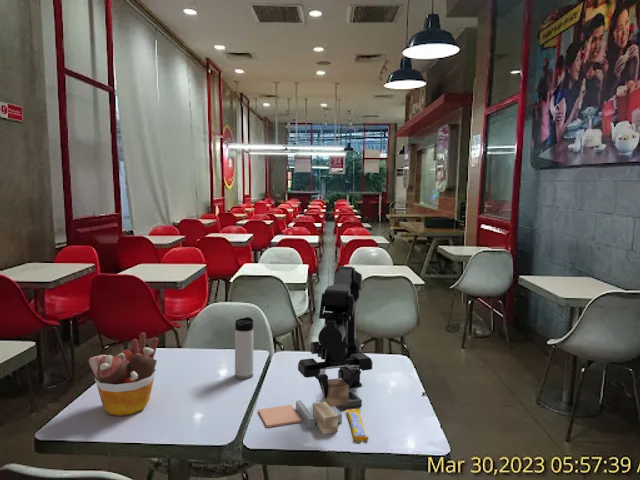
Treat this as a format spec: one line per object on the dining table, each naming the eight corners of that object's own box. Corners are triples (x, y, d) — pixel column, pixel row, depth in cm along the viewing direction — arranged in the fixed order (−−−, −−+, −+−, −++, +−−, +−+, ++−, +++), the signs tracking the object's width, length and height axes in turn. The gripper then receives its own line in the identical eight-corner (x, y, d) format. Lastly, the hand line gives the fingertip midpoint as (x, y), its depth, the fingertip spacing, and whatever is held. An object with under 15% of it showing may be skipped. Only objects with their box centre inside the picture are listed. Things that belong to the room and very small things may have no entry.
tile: (291, 406, 136) (291, 404, 136) (301, 421, 127) (302, 419, 127) (258, 411, 132) (258, 409, 132) (266, 427, 123) (266, 425, 123)
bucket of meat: (131, 426, 122) (129, 354, 121) (78, 419, 126) (76, 348, 124) (171, 395, 142) (170, 333, 140) (124, 390, 145) (123, 328, 144)
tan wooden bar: (325, 416, 130) (326, 401, 130) (337, 432, 122) (338, 415, 122) (312, 418, 129) (312, 403, 129) (323, 434, 121) (323, 418, 120)
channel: (325, 404, 138) (326, 396, 138) (341, 422, 127) (341, 414, 126) (295, 409, 134) (295, 400, 134) (309, 428, 123) (309, 419, 123)
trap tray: (351, 396, 144) (351, 390, 143) (361, 406, 137) (361, 399, 137) (331, 399, 141) (331, 393, 141) (340, 409, 135) (340, 403, 134)
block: (340, 396, 121) (340, 378, 121) (348, 404, 117) (348, 385, 116) (322, 398, 119) (323, 380, 119) (330, 407, 115) (330, 387, 114)
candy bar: (369, 444, 117) (369, 437, 116) (353, 444, 116) (353, 437, 116) (360, 413, 133) (360, 407, 133) (345, 413, 133) (345, 407, 133)
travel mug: (256, 373, 161) (257, 317, 159) (247, 380, 155) (248, 322, 153) (241, 371, 163) (241, 316, 161) (231, 377, 157) (231, 320, 155)
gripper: (355, 326, 128) (354, 380, 129) (292, 332, 121) (291, 389, 122) (374, 338, 117) (372, 396, 119) (305, 344, 111) (304, 406, 112)
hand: (334, 396), depth 118 cm, fingers closed on block, 5 cm apart
